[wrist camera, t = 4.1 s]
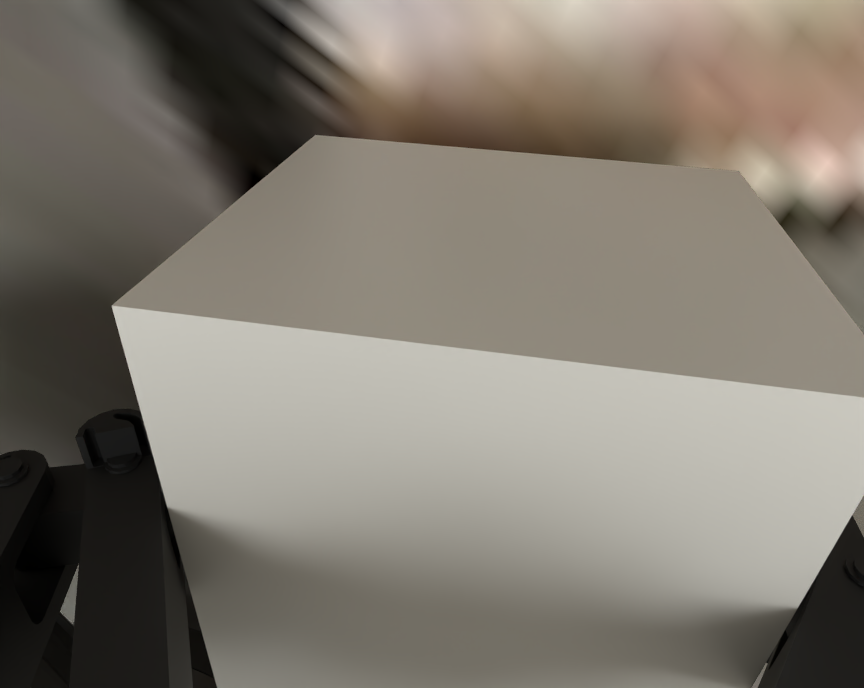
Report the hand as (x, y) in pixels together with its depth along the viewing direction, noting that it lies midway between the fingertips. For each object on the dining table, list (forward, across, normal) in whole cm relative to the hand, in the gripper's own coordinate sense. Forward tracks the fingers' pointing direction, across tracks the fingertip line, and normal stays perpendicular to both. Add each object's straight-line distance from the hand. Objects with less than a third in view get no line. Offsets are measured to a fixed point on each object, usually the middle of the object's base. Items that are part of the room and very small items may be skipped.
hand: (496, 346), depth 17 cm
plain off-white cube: (+1, 0, 0) cm, 1 cm away
